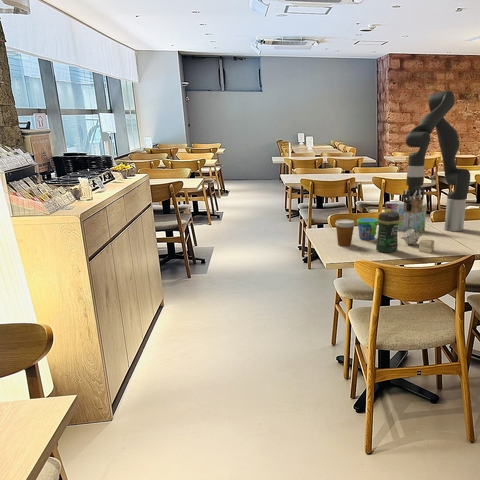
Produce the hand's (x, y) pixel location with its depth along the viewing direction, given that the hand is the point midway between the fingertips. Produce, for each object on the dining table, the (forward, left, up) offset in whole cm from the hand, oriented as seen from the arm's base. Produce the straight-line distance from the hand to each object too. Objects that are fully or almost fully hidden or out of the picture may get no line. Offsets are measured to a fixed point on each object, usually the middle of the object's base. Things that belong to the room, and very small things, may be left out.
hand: (412, 210), depth 209 cm
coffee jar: (+17, -1, -17) cm, 24 cm away
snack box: (-23, -20, -17) cm, 35 cm away
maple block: (+4, +11, -17) cm, 21 cm away
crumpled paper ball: (0, 0, -17) cm, 17 cm away
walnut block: (0, 0, -1) cm, 1 cm away
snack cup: (+7, -21, -17) cm, 28 cm away
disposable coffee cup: (+24, -21, -17) cm, 36 cm away
